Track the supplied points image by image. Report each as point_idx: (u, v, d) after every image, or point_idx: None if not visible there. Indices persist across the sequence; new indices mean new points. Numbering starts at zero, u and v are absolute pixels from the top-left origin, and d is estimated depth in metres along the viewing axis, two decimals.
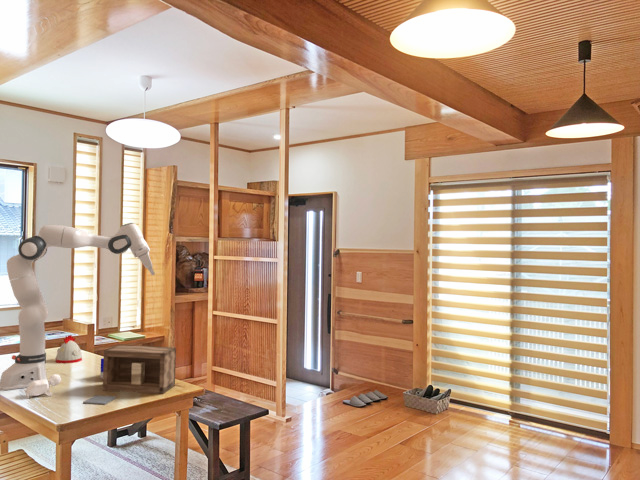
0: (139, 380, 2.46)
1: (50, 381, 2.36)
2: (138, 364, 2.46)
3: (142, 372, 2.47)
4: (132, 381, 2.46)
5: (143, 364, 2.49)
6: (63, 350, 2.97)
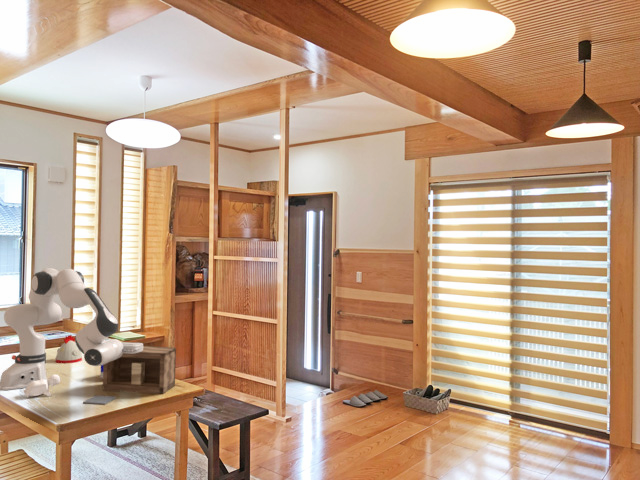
0: (139, 380, 2.46)
1: (49, 381, 2.36)
2: (138, 364, 2.46)
3: (142, 372, 2.47)
4: (132, 381, 2.46)
5: (143, 364, 2.49)
6: (63, 350, 2.97)
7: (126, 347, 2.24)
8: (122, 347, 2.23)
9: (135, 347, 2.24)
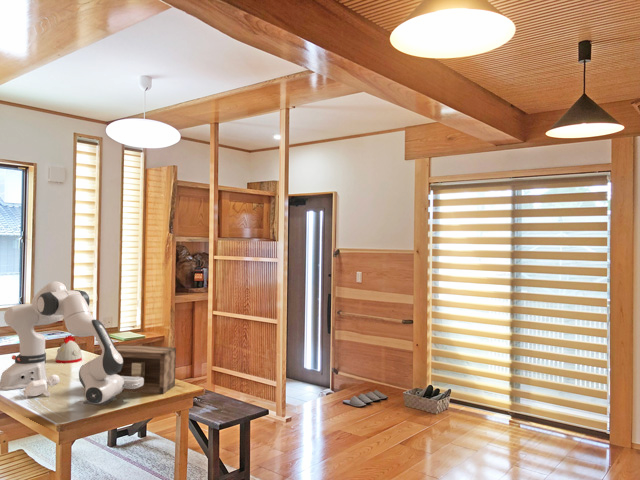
0: None
1: (48, 381, 2.35)
2: (138, 364, 2.46)
3: (142, 372, 2.47)
4: None
5: (143, 364, 2.49)
6: (63, 350, 2.97)
7: (127, 382, 2.26)
8: (123, 382, 2.25)
9: (136, 382, 2.26)
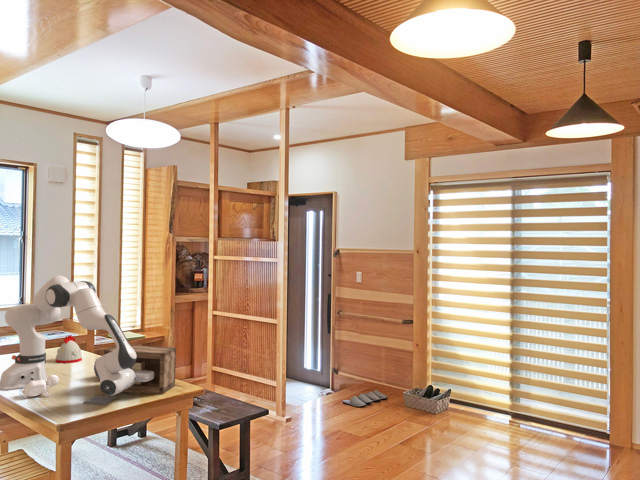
0: None
1: (48, 382, 2.35)
2: (138, 364, 2.46)
3: None
4: None
5: (143, 364, 2.49)
6: (63, 350, 2.97)
7: (138, 376, 2.37)
8: (134, 376, 2.35)
9: (147, 376, 2.37)
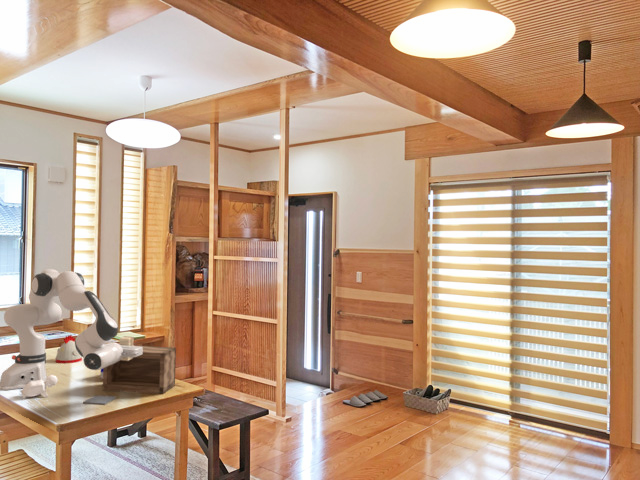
0: None
1: (46, 382, 2.34)
2: (126, 339, 2.33)
3: None
4: None
5: (131, 339, 2.36)
6: (63, 350, 2.97)
7: (126, 351, 2.24)
8: (122, 351, 2.23)
9: (135, 351, 2.24)
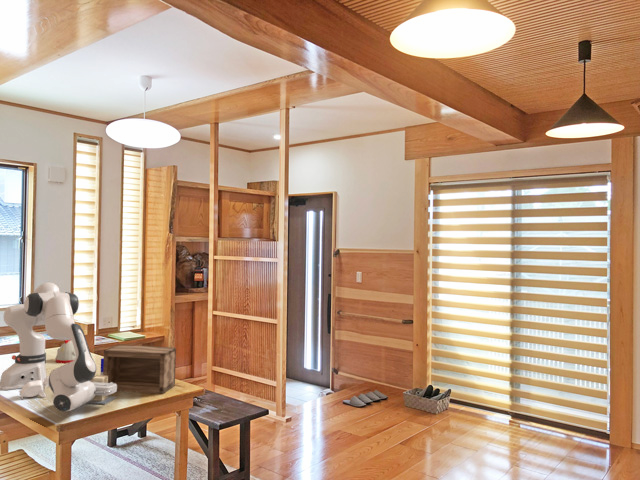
0: (101, 396, 2.27)
1: (45, 382, 2.34)
2: (100, 379, 2.27)
3: None
4: None
5: (106, 379, 2.30)
6: (63, 350, 2.97)
7: (98, 389, 2.17)
8: (94, 389, 2.16)
9: (108, 389, 2.18)
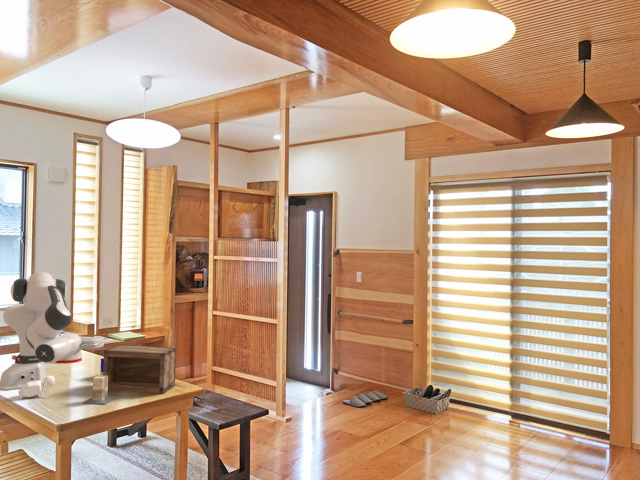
0: (101, 396, 2.27)
1: (43, 383, 2.33)
2: (100, 379, 2.27)
3: (104, 387, 2.28)
4: (93, 397, 2.27)
5: (106, 379, 2.30)
6: None
7: (84, 342, 2.07)
8: (80, 342, 2.06)
9: (94, 342, 2.08)
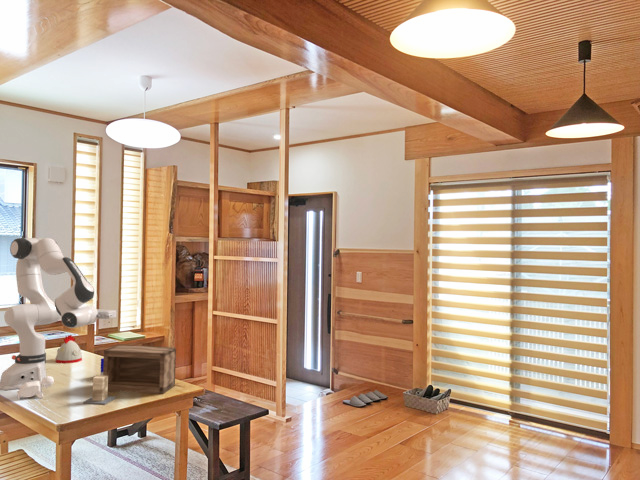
0: (101, 396, 2.27)
1: (42, 383, 2.33)
2: (100, 379, 2.27)
3: (104, 387, 2.28)
4: (93, 397, 2.27)
5: (106, 379, 2.30)
6: (63, 350, 2.97)
7: (100, 313, 2.49)
8: (97, 313, 2.48)
9: (108, 313, 2.50)
